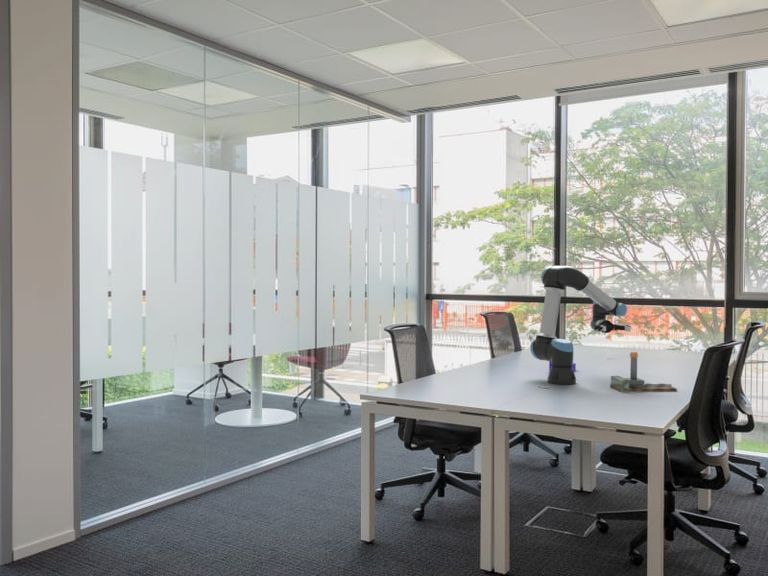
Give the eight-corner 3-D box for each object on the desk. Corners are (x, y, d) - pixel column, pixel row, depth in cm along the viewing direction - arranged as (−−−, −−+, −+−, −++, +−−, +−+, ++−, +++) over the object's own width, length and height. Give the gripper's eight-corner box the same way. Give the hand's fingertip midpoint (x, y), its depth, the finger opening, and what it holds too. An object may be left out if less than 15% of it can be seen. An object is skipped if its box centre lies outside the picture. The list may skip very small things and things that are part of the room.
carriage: (629, 386, 350) (629, 352, 350) (622, 383, 358) (623, 350, 358) (644, 386, 350) (644, 352, 350) (637, 383, 358) (638, 350, 358)
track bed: (619, 391, 347) (619, 380, 347) (609, 387, 361) (609, 375, 361) (677, 391, 348) (677, 380, 348) (665, 387, 362) (665, 375, 362)
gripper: (625, 333, 397) (639, 336, 376) (582, 332, 396) (594, 335, 375) (625, 320, 397) (640, 322, 376) (583, 319, 396) (595, 321, 375)
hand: (617, 329), depth 375 cm, fingers open, 13 cm apart
